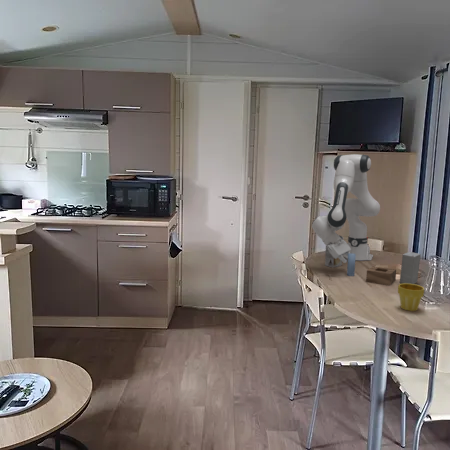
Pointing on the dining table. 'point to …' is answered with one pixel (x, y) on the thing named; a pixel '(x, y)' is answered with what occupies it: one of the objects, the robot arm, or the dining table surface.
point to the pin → (351, 264)
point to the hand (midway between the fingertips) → (348, 260)
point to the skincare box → (410, 268)
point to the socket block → (381, 275)
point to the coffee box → (331, 260)
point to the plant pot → (410, 296)
